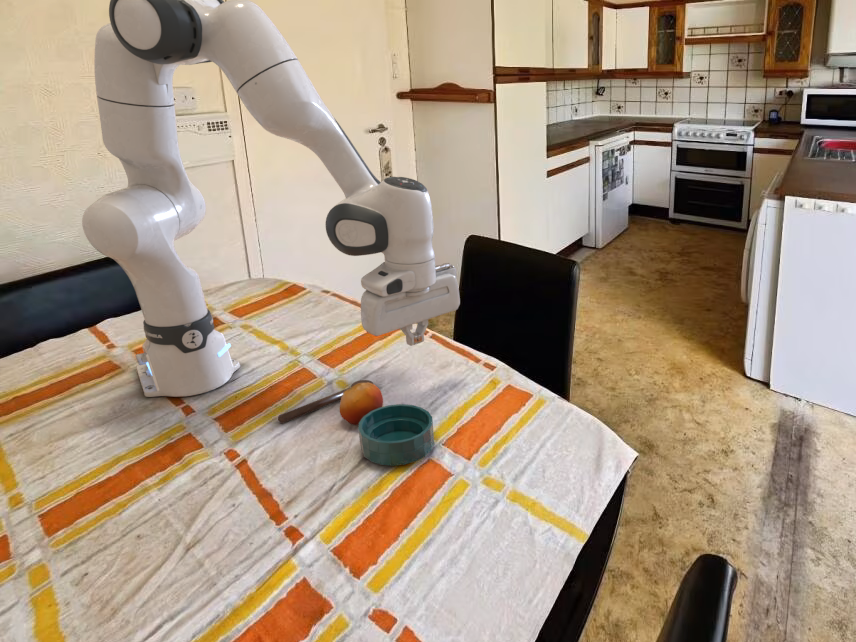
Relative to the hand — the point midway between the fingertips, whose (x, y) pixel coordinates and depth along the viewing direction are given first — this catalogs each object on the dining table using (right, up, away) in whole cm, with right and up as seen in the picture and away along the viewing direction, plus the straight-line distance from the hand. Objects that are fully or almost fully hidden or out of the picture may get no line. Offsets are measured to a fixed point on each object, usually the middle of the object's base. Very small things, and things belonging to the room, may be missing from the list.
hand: (415, 343), depth 118 cm
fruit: (-9, -14, -3) cm, 17 cm away
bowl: (-1, -19, -12) cm, 22 cm away
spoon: (-16, -11, +2) cm, 20 cm away
